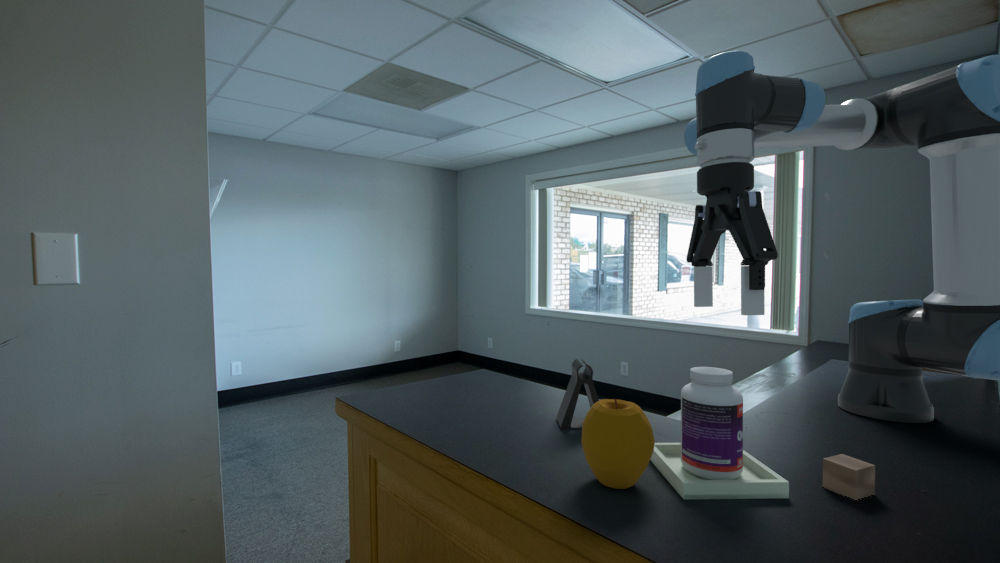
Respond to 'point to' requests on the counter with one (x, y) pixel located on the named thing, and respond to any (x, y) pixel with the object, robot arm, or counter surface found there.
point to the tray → (748, 485)
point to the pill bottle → (712, 425)
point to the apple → (617, 442)
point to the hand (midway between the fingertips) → (725, 310)
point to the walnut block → (849, 476)
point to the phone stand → (576, 396)
